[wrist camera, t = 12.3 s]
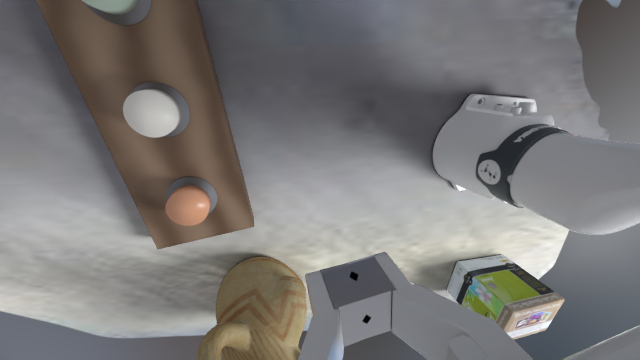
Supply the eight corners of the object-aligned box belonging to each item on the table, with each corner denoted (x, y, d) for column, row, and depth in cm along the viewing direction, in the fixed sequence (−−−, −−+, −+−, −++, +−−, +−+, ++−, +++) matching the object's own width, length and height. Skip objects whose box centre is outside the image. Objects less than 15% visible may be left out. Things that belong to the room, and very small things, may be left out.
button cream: (172, 86, 28) (167, 87, 26) (186, 129, 30) (183, 133, 28) (122, 92, 27) (114, 93, 25) (141, 136, 29) (134, 141, 27)
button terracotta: (204, 181, 33) (202, 187, 31) (215, 213, 35) (213, 220, 33) (164, 189, 32) (159, 196, 30) (177, 221, 34) (173, 229, 32)
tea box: (445, 290, 64) (495, 346, 51) (455, 259, 60) (513, 311, 47) (490, 282, 68) (548, 332, 55) (503, 253, 64) (568, 299, 51)
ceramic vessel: (264, 326, 52) (276, 513, 30) (183, 286, 43) (115, 509, 21) (323, 275, 51) (381, 430, 29) (252, 222, 42) (257, 389, 20)
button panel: (173, -91, 26) (163, -111, 23) (253, 216, 42) (254, 227, 39) (11, -91, 23) (-22, -114, 20) (163, 237, 39) (157, 250, 36)
